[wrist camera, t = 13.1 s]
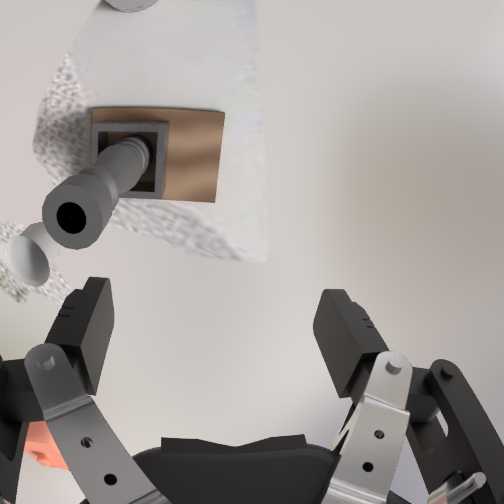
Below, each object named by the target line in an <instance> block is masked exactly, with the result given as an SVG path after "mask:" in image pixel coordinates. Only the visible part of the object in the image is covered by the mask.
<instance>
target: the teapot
mask: <svg viewBox="0 0 504 504" xmlns="http://www.w3.org/2000/svg"><path fill="white" fill-rule="evenodd" d="M24 451H25V452H27V453H28V454H29V455H30V456H31V457H33V458H34V459H35V460H36V461H38V462H39V463H40V464H41V465H43V466H49V467H55V468H61V469H68V470H69V468H68V466H67V464H66V463H65V461H64V459H63V457H62V455H61V453H60V451H59V449H58V447H57V445H56V443H55V441H54V439H53V437H52V435H51V433H50V431H49V429H48V427H47V425H46V422H45V421H38V422H30V424H29V428H28V433H27V437H26V442H25V446H24ZM69 471H70V470H69Z"/></svg>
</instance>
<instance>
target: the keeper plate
mask: <svg viewBox="0 0 504 504" xmlns="http://www.w3.org/2000/svg"><path fill="white" fill-rule="evenodd" d="M224 119H225V113H223V112H212V111H200V110H184V109H164V108H94V109H92V124H94V123H97V122H99V121H102V120H144V121H170V130H169V142H168V156H167V172H166V189H165V192H164V194H163V197H162V200H179V201H195V202H210V203H215V197H216V188H217V179H218V169H219V160H220V152H221V143H222V135H223V127H224ZM91 131H92V125H91ZM129 134H140V135H142V136H144V137H146V138H147V139H148V140H149V141H150V143H151V144H152V147H153V151H154V154H153V160H152V162H151V164H150V165H149V167H148V168H147V170H146V171H145V172H144V173H143V174H142V175H141V177H140V178H139V180H138V181H146V182H155V174H156V155H157V140H158V132H130V131H108V147H109V146H113V144H114V143H116V142H117V141H118V140H119V139H121V138H122V137H124V136H126V135H129Z"/></svg>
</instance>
